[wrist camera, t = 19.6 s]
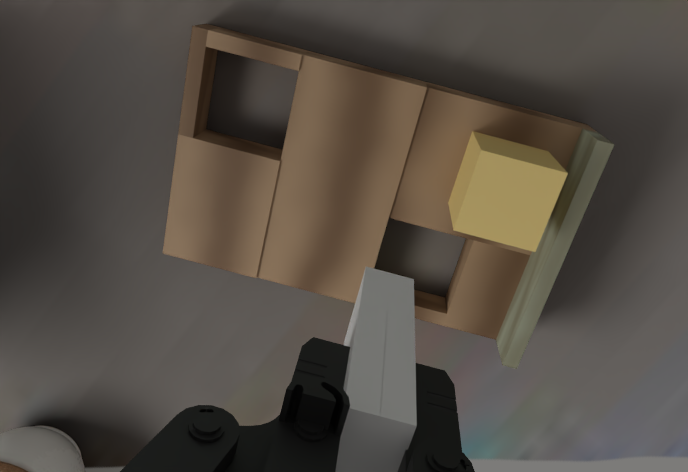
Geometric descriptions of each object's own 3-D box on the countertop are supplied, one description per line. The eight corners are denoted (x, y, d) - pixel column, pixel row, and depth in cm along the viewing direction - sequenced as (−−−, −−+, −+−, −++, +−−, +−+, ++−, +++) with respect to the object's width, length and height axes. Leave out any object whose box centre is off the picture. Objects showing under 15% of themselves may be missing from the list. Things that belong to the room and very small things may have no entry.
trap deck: (176, 238, 45) (146, 270, 40) (206, 23, 39) (175, 28, 34) (504, 325, 45) (516, 368, 40) (586, 124, 39) (614, 144, 34)
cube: (448, 202, 39) (453, 230, 35) (472, 130, 37) (481, 150, 33) (520, 222, 39) (535, 252, 35) (548, 151, 37) (567, 173, 33)
